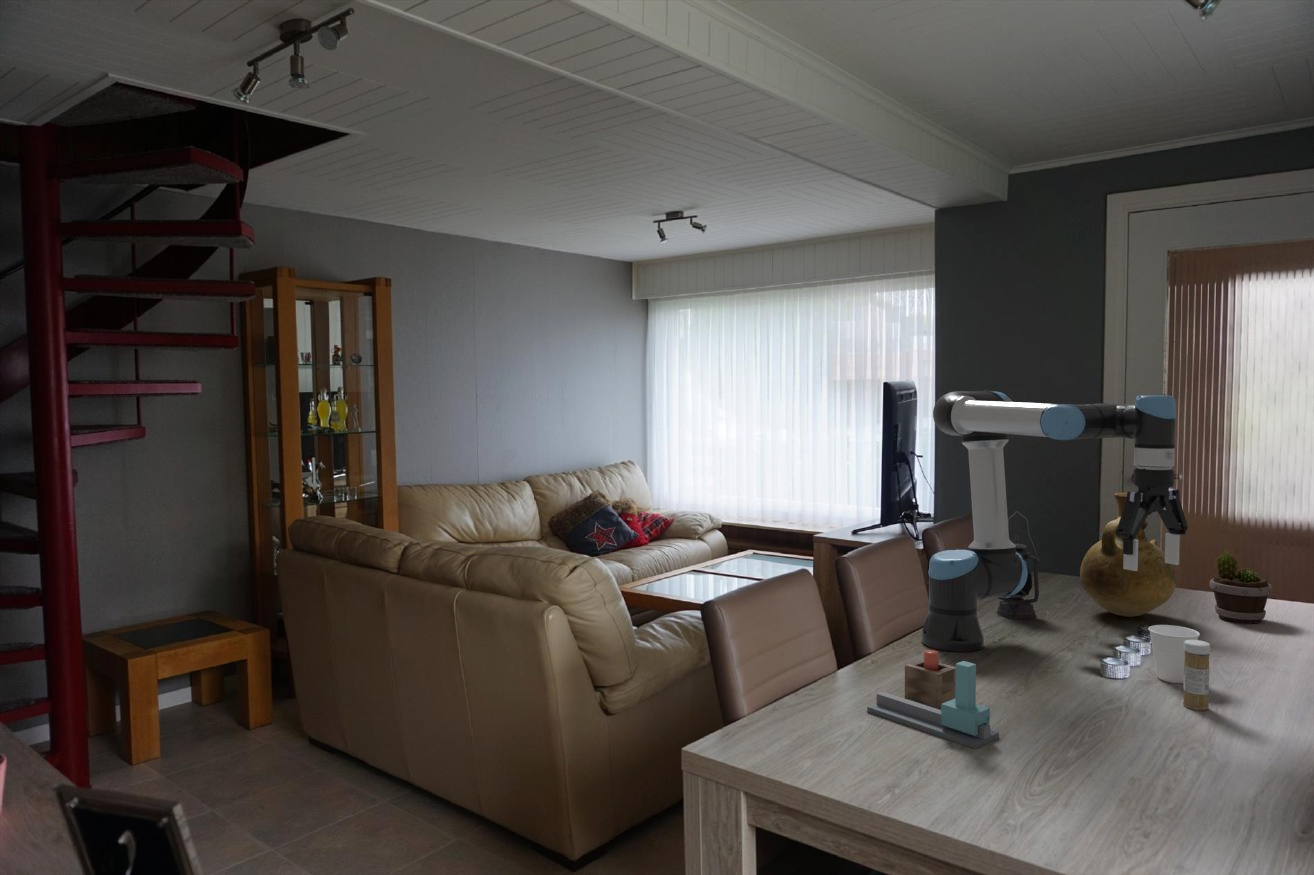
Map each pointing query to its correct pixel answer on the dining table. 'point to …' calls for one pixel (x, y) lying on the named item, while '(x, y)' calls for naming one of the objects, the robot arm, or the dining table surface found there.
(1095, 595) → the vase
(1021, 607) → the lantern
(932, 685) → the open wooden box
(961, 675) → the carriage
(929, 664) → the cylinder
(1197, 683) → the sprinkles bottle
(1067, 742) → the dining table surface
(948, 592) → the robot arm
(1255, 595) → the flowerpot
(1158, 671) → the cup
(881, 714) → the rail bed
